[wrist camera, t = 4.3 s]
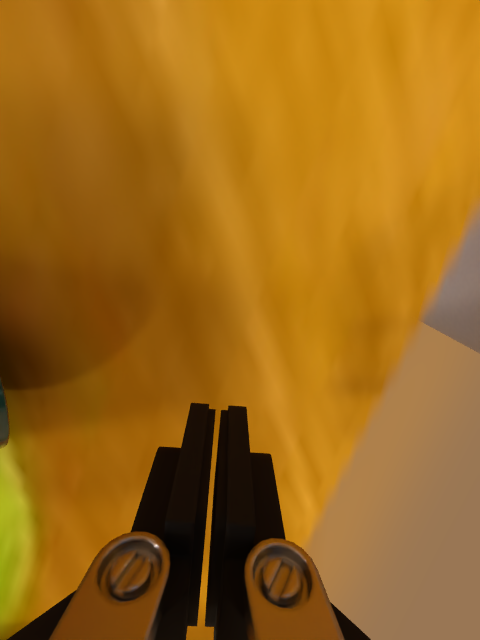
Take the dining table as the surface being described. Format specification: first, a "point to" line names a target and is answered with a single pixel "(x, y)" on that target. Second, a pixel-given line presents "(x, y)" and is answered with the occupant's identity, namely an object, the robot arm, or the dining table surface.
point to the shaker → (3, 418)
